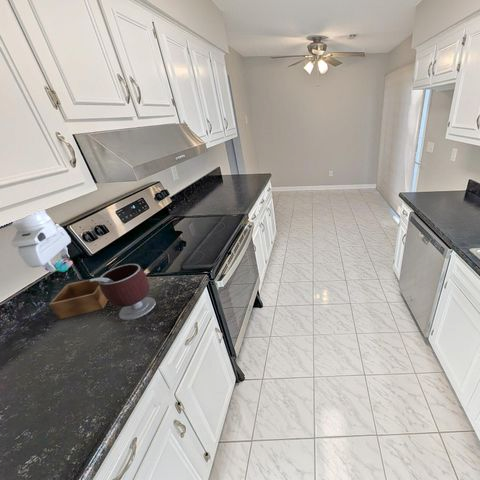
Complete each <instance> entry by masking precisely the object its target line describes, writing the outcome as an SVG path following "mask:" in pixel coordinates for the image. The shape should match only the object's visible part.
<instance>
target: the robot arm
mask: <svg viewBox="0 0 480 480" xmlns="http://www.w3.org/2000/svg"><path fill="white" fill-rule="evenodd" d="M9 226H13V227H14V228H15V230H16V233H15V235H14V237H13V238H12V240H11V242H10V244H11V245H12V247H14V248H17V252H18V254H19V256H20V258H21V259H22V260H23V262H24V263H25V264H26V266H28V267H30V268H38V267H43V268H44V269H45V268H47V269H48V271H47V272H49V273H54V272H56V270H57V267H56V266H55V264H53V263H52V261H51V260H52V259H53V258H54V257H56V256H57V255H59V253H60V258H61V260H62V259H64V260H65V259H67V260H69V259H70V255H69V251H68V247H67V246H69V245H70V244H71V243H72V239H71V236H70V235H69V234H68V232H67V231H66V229H65V228H64V227H63V226H61V225H60V224H59V223H57V222H54V220H53V219H52V217H51V216H49V214H48V213H47V212H46V209H45V210H42V211H40V212H37V213H35V214H32V215H30V216H27V217H24V218H22V219H19V220H17V221H14V222H11V223H9V224H6V225H4V226H1V227H0V230H1V229H4V228H7V227H9ZM68 258H69V259H68ZM64 260H63V261H64ZM57 271H58V270H57Z"/></svg>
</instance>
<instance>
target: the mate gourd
mask: <svg viewBox="0 0 480 480" xmlns="http://www.w3.org/2000/svg"><path fill="white" fill-rule="evenodd" d="M88 280H89V279H88ZM89 281H90V282H92V281H98V282H99V285H100V288H101V291H102V293H103V294H104V296H105V298H106V299H107V300H108V302H109V303H110V304H111V305H113V306H117V307H121V309H120V310H119V313H118V316H119V318H120V319H121V320H123V321H132V320H137V319H139V318H141V317H143V316H145V315H147V314H148V313H150V312H151V311H153V309H154V308H155V306H156V304H157V303H156V302H157V301H156V300H155V298H153V297H150V296H147V295H148V293H149V290H150V284H149V279H148V277H147V275H146V273H145V271H144V269H143V268H142V267H141V266H140V265H139V263H126V264H122V265H119V266H116V267H113V268H111V269H109V270H108V271H105V272H104V273H102V274H101V275H100V276H99V277H95V278H90V280H89Z"/></svg>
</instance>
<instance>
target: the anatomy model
mask: <svg viewBox="0 0 480 480" xmlns="http://www.w3.org/2000/svg"><path fill="white" fill-rule="evenodd" d="M69 259H70V257H69V258H68V259H65V260H64V259H62V258H61V260H57V261H54V262H55V263H53V265H55V266H56V267H57V270H55V272H62V273H65V272H66V271H68V270H69V268H71V267H72V266H73V264H74V262H73V260H69ZM44 270H45V271H47V272H49V271H48V269H47V268H45V267H44Z"/></svg>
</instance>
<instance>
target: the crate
mask: <svg viewBox="0 0 480 480" xmlns="http://www.w3.org/2000/svg"><path fill="white" fill-rule="evenodd" d="M90 279H91V278H90ZM90 279H84V280H80V281H76V282H70V283H67V284H65V285H64V287H63V288H62V289H61V290H60V291H59V292H58V294H57V295H56V296H55V297H54V298H53V299H52V300H51V301H50V302H49V304H48V306H49V307H50V309H51V310H52V311H53V313H54V315H55V316H56V317H57V319H58V320H63V319H68V318H71V317H75V316H80V315H84V314H87V313H92V312H96V311H99V310H104V309H105V307H106V305H107V303H108V302H109V301H108V300H107V299H106V298H105V296H104V294H103V293H102V291H101V288H100V285H99V282H98V281H92V282H90V281H89V280H90ZM107 301H108V302H107Z"/></svg>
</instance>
